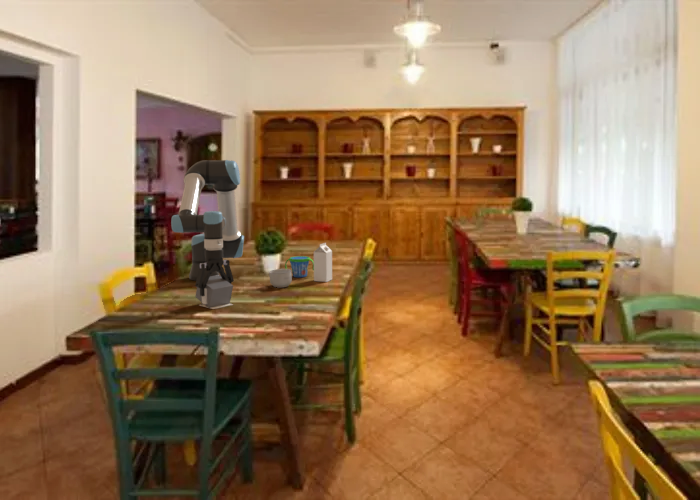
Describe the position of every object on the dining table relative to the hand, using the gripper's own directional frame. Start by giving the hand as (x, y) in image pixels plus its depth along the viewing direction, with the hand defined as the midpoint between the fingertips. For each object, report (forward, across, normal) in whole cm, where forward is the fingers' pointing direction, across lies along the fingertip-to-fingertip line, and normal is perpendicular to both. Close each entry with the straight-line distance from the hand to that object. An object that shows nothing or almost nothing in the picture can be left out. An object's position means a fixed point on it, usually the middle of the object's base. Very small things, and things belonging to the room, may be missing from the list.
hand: (215, 301), depth 243 cm
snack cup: (+1, +68, +20) cm, 71 cm away
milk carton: (+1, +68, +3) cm, 68 cm away
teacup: (+2, +45, +9) cm, 46 cm away
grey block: (0, 0, +2) cm, 2 cm away
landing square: (+2, 0, 0) cm, 2 cm away
